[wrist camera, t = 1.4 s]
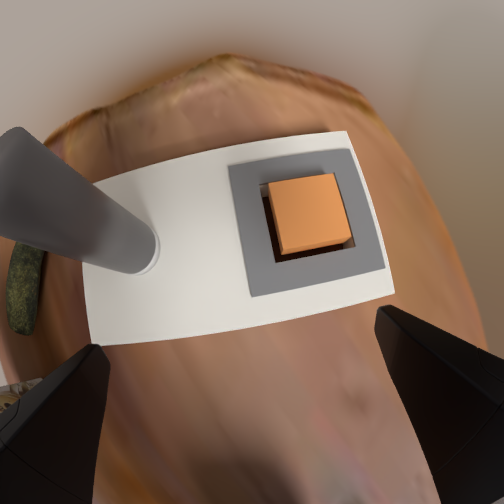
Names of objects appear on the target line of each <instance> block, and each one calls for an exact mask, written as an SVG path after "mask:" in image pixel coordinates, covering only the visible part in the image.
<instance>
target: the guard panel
mask: <svg viewBox="0 0 504 504" xmlns="http://www.w3.org/2000/svg"><path fill="white" fill-rule="evenodd" d="M331 173H333V174H334V177H335V180H336V184H337V187H338V190H339V193H340V197H341V200H342V203H343V207H344V210H345V214H346V218H347V221H348V225H349V229H350V232H351V237H350V238H349V239H348V240H346V241H345V242H344V243H343V247H344V249H343V250H339V251H334V252H329V253H324V254H319V255H314V256H309V257H304V258H299V259H294V260H289V261H284V262H279V263H275V259H274V255H273V250H272V245H271V240H270V235H269V230H268V226H267V221H266V216H265V212H264V207H263V202H262V197H267V196H268V183H272V182H278V181H284V180H290V179H296V178H303V177H310V176H316V175H324V174H331ZM93 185H95V186H96V187H97V188H98V189H100V190H101V191H102V192H104V193H105V194H106V195H108V196H109V197H110V198H112V199H113V200H114V201H116V202H117V203H118V204H120V205H121V206H122V207H124V208H125V209H126V210H128V211H129V212H130V213H132V214H133V215H134V216H136V217H137V218H138V219H140V220H141V221H143V222H144V223H145V224H147V225H148V226H149V227H151V228H152V229H153V230H154V231H155V232H156V233H157V235H158V237H159V240H160V246H161V249H160V255H159V258H158V261H157V262H156V264H155V265H154V267H153V268H152V269H151V270H150V271H148V272H147V273H145V274H142V275H137V276H134V275H129V274H125V273H121V272H118V271H114V270H110V269H106V268H103V267H99V266H95V265H92V264H88V263H85V262H82V267H83V281H84V292H85V301H86V310H87V317H88V324H89V330H90V336H91V342H92V344H99V345H100V346H104V345H118V344H130V343H140V342H150V341H160V340H168V339H176V338H184V337H192V336H199V335H206V334H212V333H219V332H225V331H231V330H237V329H243V328H249V327H254V326H260V325H265V324H270V323H275V322H280V321H285V320H290V319H295V318H299V317H304V316H308V315H313V314H317V313H322V312H326V311H330V310H334V309H338V308H342V307H346V306H350V305H354V304H358V303H362V302H365V301H369V300H373V299H376V298H380V297H383V296H387V295H390V294H394V293H395V291H394V286H393V281H392V276H391V271H390V267H389V262H388V258H387V254H386V250H385V246H384V242H383V238H382V235H381V231H380V227H379V224H378V220H377V217H376V213H375V210H374V207H373V204H372V200H371V197H370V194H369V191H368V188H367V185H366V182H365V179H364V176H363V173H362V171H361V168H360V165H359V162H358V160H357V157H356V154H355V152H354V149H353V147H352V144H351V142H350V139H349V137H348V134H347V132H346V131H338V132H326V133H316V134H307V135H298V136H290V137H283V138H276V139H269V140H262V141H256V142H250V143H245V144H239V145H234V146H229V147H224V148H219V149H214V150H209V151H205V152H200V153H196V154H192V155H187V156H183V157H179V158H175V159H171V160H167V161H164V162H160V163H156V164H153V165H149V166H146V167H142V168H139V169H136V170H132V171H129V172H126V173H123V174H119V175H116V176H113V177H110V178H107V179H104V180H101V181H99V182H96V183H93Z"/></svg>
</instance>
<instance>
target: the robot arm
mask: <svg viewBox="0 0 504 504" xmlns="http://www.w3.org/2000/svg"><path fill="white" fill-rule="evenodd" d="M374 330H375V335H376V338H377V340H378V343H379V346H380V349H381V352H382V354H383V357H384V360H385V363H386V366H387V369H388V372H389V374H390V376H391V379H392V381H393V383H394V385H395V387H396V389H397V391H398V394H399V396H400V398H401V400H402V403H403V405H404V407H405V409H406V412H407V414H408V416H409V418H410V421H411V423H412V426H413V428H414V430H415V433H416V435H417V438H418V440H419V443H420V445H421V448H422V450H423V453H424V455H425V458H426V461H427V463H428V466H429V469H430V471H431V474H432V476H433V480H434V483H435V486H436V489H437V492H438V495H439V498H440V501H441V504H504V359H501V358H499V357H497V356H495V355H493V354H491V353H488V352H486V351H484V350H482V349H480V348H477V347H476V346H474V345H472V344H470V343H468V342H466V341H464V340H462V339H460V338H458V337H456V336H454V335H452V334H450V333H448V332H446V331H444V330H442V329H440V328H438V327H436V326H434V325H432V324H430V323H428V322H426V321H424V320H421V319H419V318H417V317H415V316H413V315H411V314H409V313H407V312H405V311H403V310H401V309H399V308H397V307H395V306H393V305H385V306H381V307H379V308H378V309H377V313H376V320H375V327H374ZM109 375H110V361H109V359H108V358H107V356H106V354H105V353H104V351H103V349H102V347H101V346H100V345H99V344H88V345H86V346H85V347H84V348H82V349H81V350H80V351H78V352H77V353H76V354H74V355H73V356H72V357H71V358H69V359H68V360H67V361H66V362H64V363H63V364H62V365H60V366H59V367H58V368H57V369H55V370H54V371H53V372H52V373H50V374H49V375H48V376H46V377H45V378H44V379H43V380H41V381H40V382H39V383H38V384H36V385H35V386H34V387H33V388H32V389H30V390H29V391H28V392H27V393H25V394H24V395H23V396H22V397H21V398H19V399H18V400H17V401H15V402H14V403H13V404H12V405H11V406H9V407H8V408H7V409H5V410H4V411H3V412H1V413H0V504H92V497H93V485H94V476H95V467H96V460H97V453H98V446H99V440H100V434H101V428H102V423H103V417H104V412H105V407H106V400H107V391H108V383H109Z"/></svg>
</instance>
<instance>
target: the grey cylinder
mask: <svg viewBox="0 0 504 504" xmlns="http://www.w3.org/2000/svg"><path fill="white" fill-rule="evenodd" d="M0 236H2V237H5V238H8V239H11V240H14V241H17V242H20V243H23V244H26V245H29V246H32V247H35V248H38V249H41V250H45V251H48V252H51V253H54V254H58V255H61V256H64V257H68V258H71V259H74V260H78V261H81V262H85V263H88V264H92V265H95V266H99V267H103V268H106V269H110V270H114V271H118V272H121V273H125V274H129V275H134V276H137V275H142V274H145V273H147V272H148V271H150V270H151V269H152V268H153V267H154V265H155V264H156V262H157V261H158V258H159V255H160V249H161V246H160V240H159V237H158V235H157V233H156V232H155V231H154V230H153V229H152V228H151V227H149V226H148V225H147V224H145V223H144V222H143V221H141V220H140V219H138V218H137V217H136V216H134V215H133V214H132V213H130V212H129V211H128V210H126V209H125V208H124V207H122V206H121V205H120V204H118V203H117V202H116V201H114V200H113V199H112V198H110V197H109V196H108V195H106V194H105V193H104V192H102V191H101V190H100V189H98V188H97V187H96V186H95V185H93V184H92V183H91V182H89V181H88V180H87V179H85V178H84V177H83V176H82V175H80V174H79V173H78V172H77V171H75V170H74V169H73V168H71V167H70V166H69V165H68V164H66V163H65V162H64V161H63V160H61V159H60V158H59V157H58V156H56V155H55V154H54V153H53V152H52V151H50V150H49V149H48V148H47V147H45V146H44V145H43V144H42V143H41V142H39V141H38V140H37V139H36V138H35V137H33V136H32V135H31V134H30V133H29V132H27V131H26V130H25V129H24V128H22V127H15V128H12V129H10V130H8V131H7V132H6V133H4V134H3V135H2V136H1V137H0Z"/></svg>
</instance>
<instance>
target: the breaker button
mask: <svg viewBox="0 0 504 504" xmlns="http://www.w3.org/2000/svg"><path fill="white" fill-rule="evenodd" d="M268 196H269V201H270V205H271V210H272V214H273V219H274V223H275V228H276V232H277V237H278V242H279V246H280V251H281V255H284V254H289V253H295V252H300V251H305V250H310V249H315V248H320V247H325V246H330V245H335V244H340V243H344V242H345V241H346V240H348V239H349V238H350V237H351V232H350V229H349V225H348V221H347V218H346V214H345V210H344V207H343V203H342V200H341V197H340V193H339V190H338V187H337V184H336V180H335V177H334V174H333V173H331V174H324V175H316V176H310V177H303V178H296V179H290V180H284V181H278V182H272V183H268Z"/></svg>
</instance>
